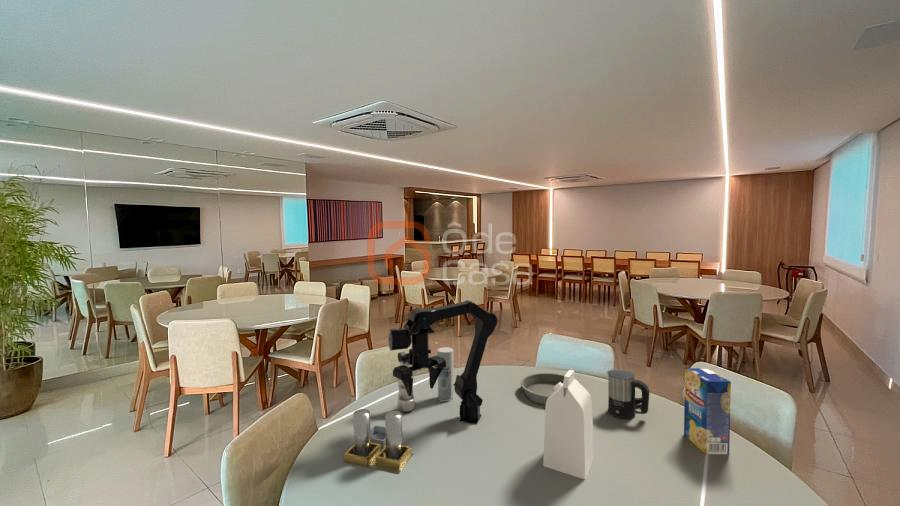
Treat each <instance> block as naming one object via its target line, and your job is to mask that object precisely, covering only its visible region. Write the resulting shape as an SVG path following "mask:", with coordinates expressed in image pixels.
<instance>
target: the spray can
mask: <svg viewBox="0 0 900 506" xmlns="http://www.w3.org/2000/svg"><path fill="white" fill-rule="evenodd" d="M436 354H437V355H436V356H439V357H442V358H444V359H445V360H446V367H444V369H443V370H442V371H441V373H440V375H439V376H438V378H437V391H438V393H437V396H438V400H439V401H440V400H441V402H443V401H449V402H452V401H454V398H455V396H454V393H455V390H454V387H455V386H454V383H455V382H454V379H455V378H454V376H455V375H454V349H453V348H452V347H446V346H445V347H440V348H438V349H437V353H436ZM451 400H452V401H451Z"/></svg>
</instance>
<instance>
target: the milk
mask: <svg viewBox="0 0 900 506" xmlns="http://www.w3.org/2000/svg"><path fill="white" fill-rule="evenodd" d="M575 375H576V373H575V370H573V369H569V370H568V371H566V373H565V375H564V382H563V383H561V382H559V383H558V384H557V385H556V386H555V387H554V389H555V390H554V391H553V393H552V394H551V395H550V396H549V398H548V399H547V401H546V405H545V407H544V408H545V411H544V413H545V415H544V437H543V438H544V439H543V460H542V461H543V463H542V466H543V467H545V468H548V469H551V470H554V471H557V472H560V473H564V474H566V475H568V476H573V477H575V478H579V479H582V480H586V478H587V476H588V473H589V471H590V468H591V466H592V464H593V461H594V459H595V447H594V446H595V445H594V444H595V443H594V442H595V441H594V424H593V422H594V420H593V403H592V402H593V401H592V396H591V394H590V393H589V391H588V390H587V389H586V388H585V387H584V386H583V385H582V384H581V382H580V381H578V380H577V379H576V376H575Z"/></svg>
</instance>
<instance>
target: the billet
mask: <svg viewBox="0 0 900 506" xmlns="http://www.w3.org/2000/svg"><path fill="white" fill-rule="evenodd" d="M384 421H385V425H384V427H386V434H385V437H386V445H385V446H386V458H390V459H394V460H399V459H400V458H401V457H402V445H403V412H402V411H400V410H391V411H388V412H386V413H385V420H384Z"/></svg>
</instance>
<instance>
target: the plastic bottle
mask: <svg viewBox="0 0 900 506" xmlns="http://www.w3.org/2000/svg"><path fill="white" fill-rule="evenodd" d="M399 364H400V365H399V366H402V365H404V366H406V367H411V366H412V365H409V364H408V363H405V364H403V362H399ZM412 374H413V375H412V377H411V378H413V379H414V376H415V375H414V374H415V372H413V373H412ZM397 386H398V394H397V395H398V398H397V404H396V405H397V408H398V411H400V412H401V413H407V412H412V411H413V410H414V408H416V407H415V406H416V400H415V397H414V396H415V395H414V384H413V385H412V394H411V396H408V394H407V391H406V388H405V386H404V384H403V382H402V380H400V379H398V378H397Z"/></svg>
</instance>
